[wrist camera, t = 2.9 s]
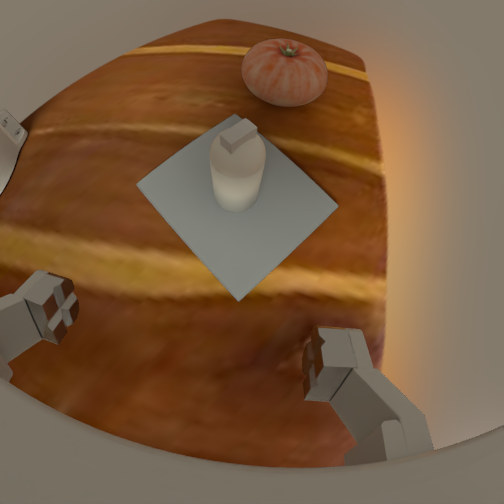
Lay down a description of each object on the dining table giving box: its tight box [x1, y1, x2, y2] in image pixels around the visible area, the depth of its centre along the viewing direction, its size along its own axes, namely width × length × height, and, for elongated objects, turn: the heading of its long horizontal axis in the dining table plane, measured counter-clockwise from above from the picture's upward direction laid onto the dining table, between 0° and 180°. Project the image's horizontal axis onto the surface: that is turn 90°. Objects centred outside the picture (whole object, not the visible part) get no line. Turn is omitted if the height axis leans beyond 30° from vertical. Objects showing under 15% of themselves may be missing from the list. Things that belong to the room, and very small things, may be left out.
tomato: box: [241, 38, 328, 107], centre depth 29 cm, size 11×11×8 cm
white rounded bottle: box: [209, 118, 266, 213], centre depth 23 cm, size 4×4×10 cm
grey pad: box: [136, 114, 338, 302], centre depth 28 cm, size 16×14×1 cm
